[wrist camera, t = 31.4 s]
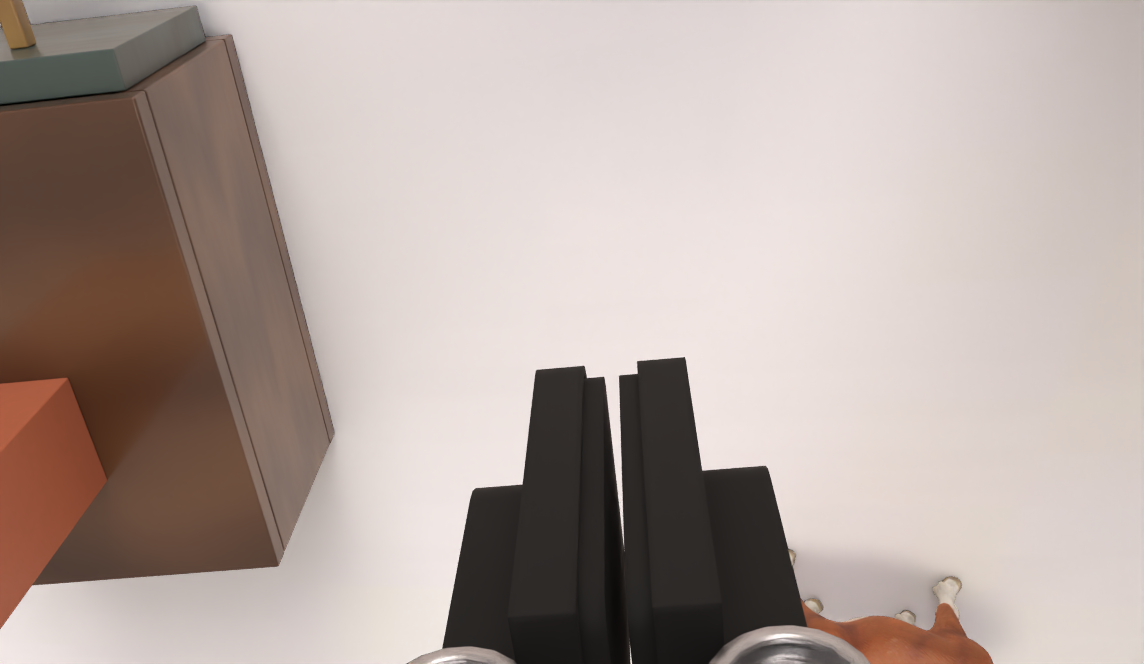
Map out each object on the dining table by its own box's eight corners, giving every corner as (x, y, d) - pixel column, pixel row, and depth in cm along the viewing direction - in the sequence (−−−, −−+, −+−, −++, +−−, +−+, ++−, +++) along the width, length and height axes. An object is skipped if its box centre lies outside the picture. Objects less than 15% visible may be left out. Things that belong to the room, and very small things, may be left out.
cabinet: (-136, 76, 37) (-325, 147, 30) (231, 33, 36) (133, 96, 29) (26, 459, 45) (-91, 595, 37) (335, 433, 44) (279, 567, 36)
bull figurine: (993, 661, 49) (1062, 813, 42) (722, 598, 47) (744, 742, 40) (1037, 593, 47) (1117, 738, 40) (755, 524, 46) (785, 662, 38)
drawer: (-233, -151, 33) (-419, -139, 27) (141, -200, 32) (36, -200, 26) (10, 424, 43) (-86, 527, 37) (303, 398, 42) (253, 499, 36)
